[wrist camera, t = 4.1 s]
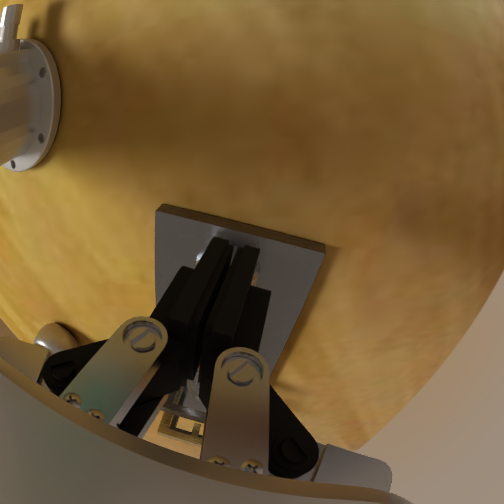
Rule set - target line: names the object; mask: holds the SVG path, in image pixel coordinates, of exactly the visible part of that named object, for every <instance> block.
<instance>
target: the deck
mask: <svg viewBox="0 0 504 504" xmlns="http://www.w3.org/2000/svg"><path fill="white" fill-rule="evenodd" d="M214 236H215V237H219V238H223V239H226V240H229V245H233V246H237V247H240V248H243V249H244V247H245V245H248V246H252V247H255V248H259V249H260V253H259V257H258V262H259V264H260V273H259V277H258V281H257V284H256V287H259V288H263V289H266V290H270V291H271V297H270V302H269V306H268V311H267V316H266V320H265V325H264V329H263V334H262V338H261V343H260V347H259V352H258V353H259V354H260V355H261V356H262V357H263V358H264V359H265V360H266V362H267V364H268V366H269V372H270V375H271V373H272V371H273V369H274V367H275V365H276V363H277V361H278V359H279V357H280V355H281V352H282V350H283V348H284V346H285V344H286V342H287V340H288V338H289V336H290V334H291V331H292V329H293V327H294V325H295V323H296V321H297V318H298V316H299V314H300V312H301V310H302V307H303V305H304V303H305V301H306V298H307V296H308V294H309V292H310V289H311V287H312V285H313V282H314V280H315V278H316V275H317V273H318V271H319V268H320V266H321V263H322V261H323V259H324V256H325V244H321V243H318V242H314V241H310V240H306V239H303V238H299V237H295V236H291V235H287V234H284V233H280V232H276V231H272V230H268V229H264V228H260V227H256V226H253V225H249V224H245V223H241V222H237V221H233V220H229V219H225V218H221V217H216V216H212V215H208V214H204V213H200V212H196V211H192V210H188V209H183V208H179V207H175V206H171V205H166V204H162V205H161V206H160V207H159V208H158V209H157V210H156V213H155V292H156V306H157V304H158V303H159V301H160V299H161V298H162V296H163V294H164V293H165V291H166V290H167V288H168V286H169V285H170V283H171V282H172V280H173V278H174V277H175V275H176V274H177V272H178V270H179V269H180V268H181V266H186V267H190V268H193V269H195V267H196V259H197V256H198V254H199V253H200V252H201V251H202V250H203V249H205V248H206V247H207V246H208V245H209V243H210V241H211V240H212V238H213V237H214ZM182 394H183V395H185V401H184V404H183V406H185V407H188V408H191V409H195V410H198V411H202V412H205V413H206V408H205V406H204V405H203V403H202V402H201V401H199V400H197V399H195V398H194V397H193V396H192V395H191V394H190V393H189V391H188V388H187V383H186V385H185V387H184V388H183V391H182Z"/></svg>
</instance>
